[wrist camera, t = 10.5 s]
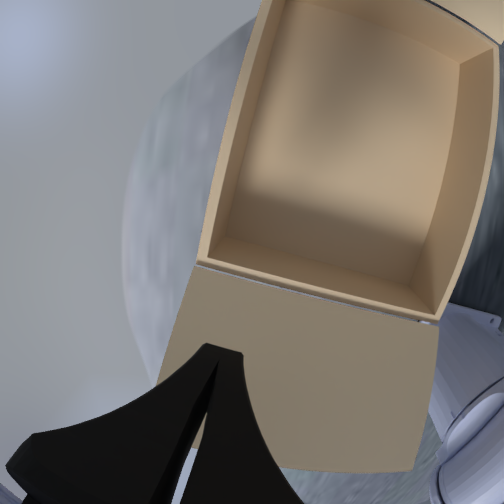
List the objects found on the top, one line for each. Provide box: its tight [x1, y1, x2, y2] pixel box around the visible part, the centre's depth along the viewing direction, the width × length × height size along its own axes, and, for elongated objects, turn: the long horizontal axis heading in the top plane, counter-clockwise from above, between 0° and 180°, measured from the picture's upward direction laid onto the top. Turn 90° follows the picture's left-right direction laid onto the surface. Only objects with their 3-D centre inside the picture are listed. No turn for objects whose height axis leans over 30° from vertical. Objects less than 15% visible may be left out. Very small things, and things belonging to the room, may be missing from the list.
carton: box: [196, 0, 499, 324], centre depth 14 cm, size 14×18×5 cm
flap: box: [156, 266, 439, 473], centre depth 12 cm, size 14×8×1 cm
